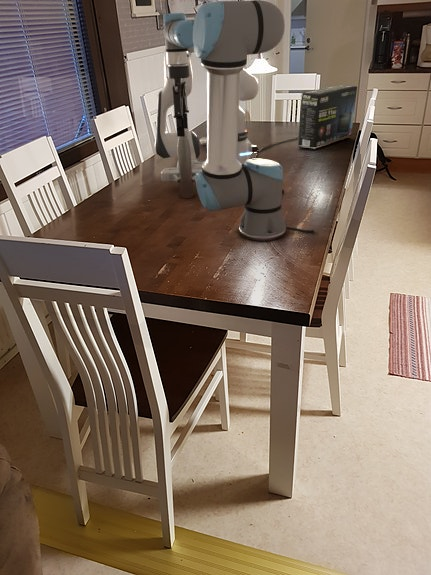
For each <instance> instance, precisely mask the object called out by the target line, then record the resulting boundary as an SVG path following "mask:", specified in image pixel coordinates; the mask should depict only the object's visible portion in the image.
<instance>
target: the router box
mask: <svg viewBox="0 0 431 575" xmlns="http://www.w3.org/2000/svg"><path fill="white" fill-rule="evenodd" d="M357 93H358V86H356V85H350V84H339V85H338V84H337V85H334V86H328V87H324V88H318V89H314V90H309V91H304V92H301V93H300V109H299V110H300V111H299V124H298V135H297V136H298V138H297V146H298V145H302V146H307V147H317V146H320V145H323V144H325V143H328V142H331V141H333V140H336V139H338V138H341V137H344V136H347V135H351V136H352V133H353V132H352V131H353V125H354V115H355V109H356V99H357ZM311 151H313V150H312V149H311Z"/></svg>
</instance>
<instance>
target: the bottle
mask: <svg viewBox="0 0 431 575" xmlns="http://www.w3.org/2000/svg"><path fill="white" fill-rule="evenodd" d="M177 144H178V145H177V153H178V156H177V163H178V166H179V178H180V182H179V189H180V190H179V191H180V198H182V199H191V198H194V182H192V164H191V148H190V143H189V140H188V136H185V137H179V139H178V143H177Z"/></svg>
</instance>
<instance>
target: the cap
mask: <svg viewBox="0 0 431 575" xmlns="http://www.w3.org/2000/svg"><path fill="white" fill-rule="evenodd" d="M184 130H185V136H187V135H189V131H190V130H189V128H188V129H184ZM175 132H177V129H176V131H175Z"/></svg>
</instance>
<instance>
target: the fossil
mask: <svg viewBox="0 0 431 575" xmlns="http://www.w3.org/2000/svg"><path fill="white" fill-rule="evenodd" d="M199 144H200V145H202V146H207V136H203V137H201V138H200V139H199Z"/></svg>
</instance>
